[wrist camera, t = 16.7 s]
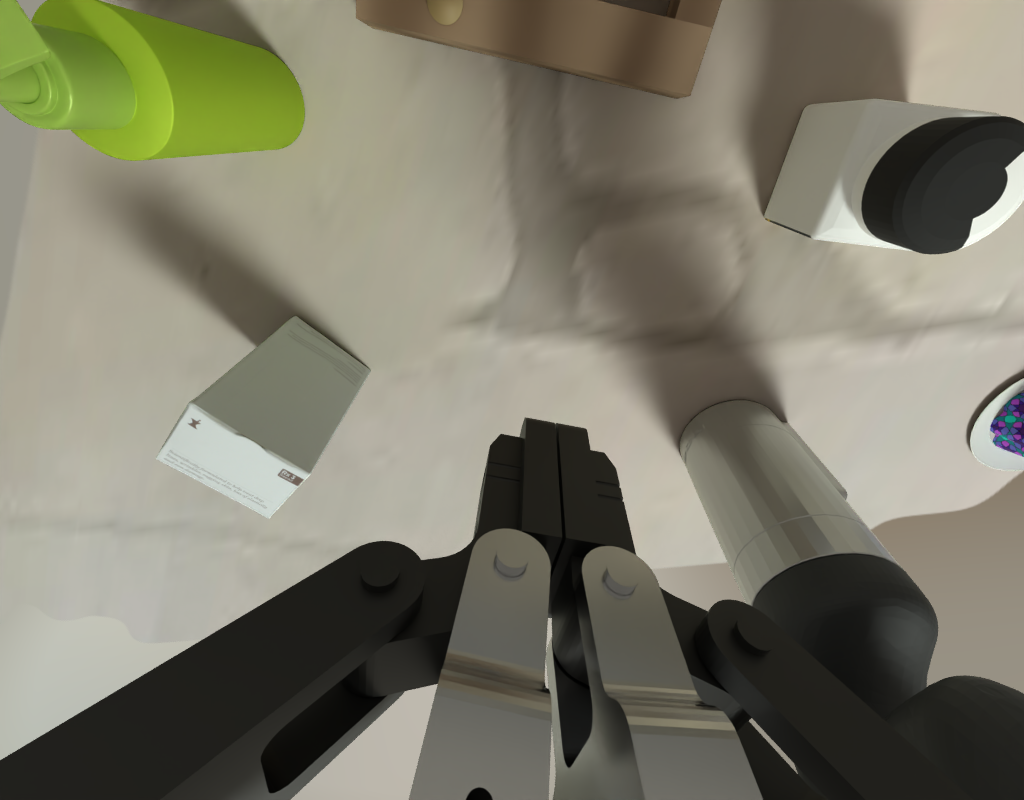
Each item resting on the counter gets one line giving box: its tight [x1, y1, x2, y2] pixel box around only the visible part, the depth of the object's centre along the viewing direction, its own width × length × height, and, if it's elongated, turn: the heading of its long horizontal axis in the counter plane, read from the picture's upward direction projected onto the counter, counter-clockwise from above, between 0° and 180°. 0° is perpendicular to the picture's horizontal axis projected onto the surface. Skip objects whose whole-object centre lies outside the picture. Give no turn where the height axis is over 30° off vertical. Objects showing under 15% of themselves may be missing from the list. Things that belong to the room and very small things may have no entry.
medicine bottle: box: [764, 99, 1024, 254], centre depth 26 cm, size 7×7×12 cm
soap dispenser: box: [0, 0, 305, 161], centre depth 22 cm, size 6×7×20 cm
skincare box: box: [156, 316, 371, 518], centre depth 35 cm, size 8×6×15 cm
